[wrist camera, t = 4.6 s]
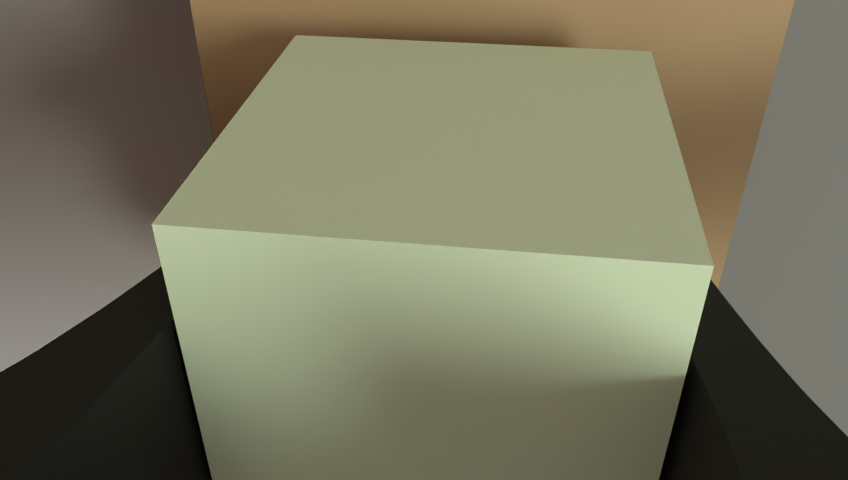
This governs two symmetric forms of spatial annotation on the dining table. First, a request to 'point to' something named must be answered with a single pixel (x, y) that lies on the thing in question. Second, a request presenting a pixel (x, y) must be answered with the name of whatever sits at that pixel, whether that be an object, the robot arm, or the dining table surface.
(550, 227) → the sage cube
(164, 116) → the dining table surface
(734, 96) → the walnut base block
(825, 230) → the building mat
